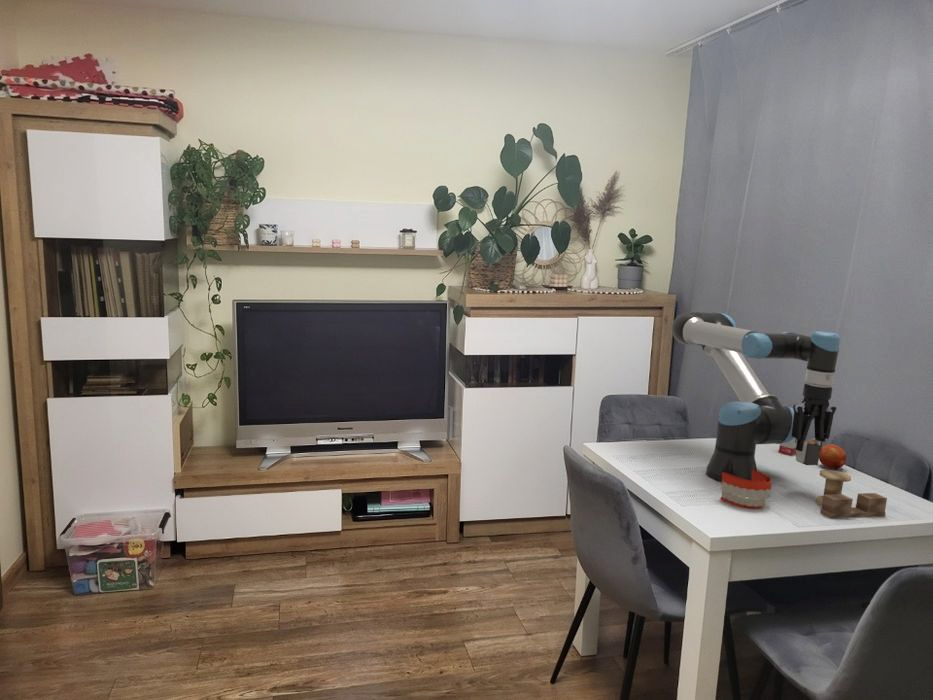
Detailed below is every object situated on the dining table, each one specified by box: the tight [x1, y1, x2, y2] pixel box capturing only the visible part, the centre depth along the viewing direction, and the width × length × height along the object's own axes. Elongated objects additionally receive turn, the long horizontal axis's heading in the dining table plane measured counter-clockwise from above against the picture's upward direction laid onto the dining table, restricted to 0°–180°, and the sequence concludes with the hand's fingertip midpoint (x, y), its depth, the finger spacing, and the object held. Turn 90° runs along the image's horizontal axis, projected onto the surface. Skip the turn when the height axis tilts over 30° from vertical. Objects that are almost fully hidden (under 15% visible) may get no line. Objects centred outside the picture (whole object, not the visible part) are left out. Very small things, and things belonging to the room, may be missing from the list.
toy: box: [720, 470, 772, 510], centre depth 198 cm, size 12×10×8 cm
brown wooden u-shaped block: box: [819, 492, 888, 519], centre depth 196 cm, size 18×4×5 cm, turn 105°
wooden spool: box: [815, 469, 852, 506], centre depth 203 cm, size 8×8×9 cm
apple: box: [818, 443, 847, 470], centre depth 240 cm, size 8×8×8 cm
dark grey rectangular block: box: [797, 439, 822, 466], centre depth 211 cm, size 4×4×7 cm
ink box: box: [778, 435, 802, 457], centre depth 256 cm, size 8×5×12 cm, turn 134°
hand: (806, 461), depth 212 cm, fingers closed on dark grey rectangular block, 4 cm apart
